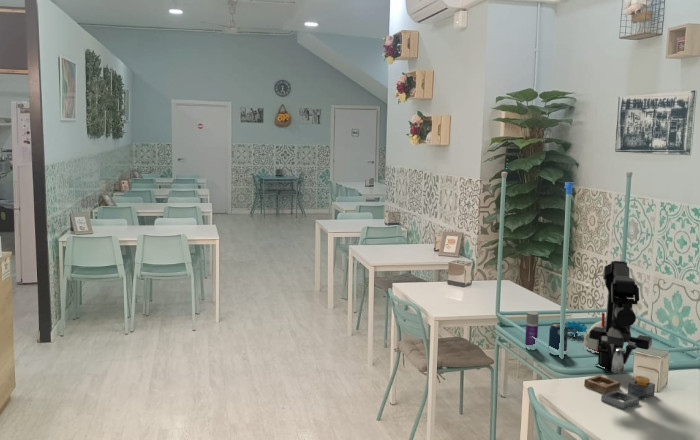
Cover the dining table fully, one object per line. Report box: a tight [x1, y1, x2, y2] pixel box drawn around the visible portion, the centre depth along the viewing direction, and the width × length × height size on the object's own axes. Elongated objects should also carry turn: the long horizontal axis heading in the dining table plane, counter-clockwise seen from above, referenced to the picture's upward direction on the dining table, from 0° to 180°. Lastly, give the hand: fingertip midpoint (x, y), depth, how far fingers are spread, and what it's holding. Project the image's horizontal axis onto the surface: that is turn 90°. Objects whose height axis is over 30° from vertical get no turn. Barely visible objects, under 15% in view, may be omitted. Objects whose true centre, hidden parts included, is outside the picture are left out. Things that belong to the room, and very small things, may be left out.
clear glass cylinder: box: [611, 348, 626, 374], centre depth 223 cm, size 4×4×8 cm
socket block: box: [600, 379, 656, 410], centre depth 224 cm, size 8×19×4 cm, turn 125°
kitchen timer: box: [583, 312, 606, 351], centre depth 273 cm, size 14×14×15 cm
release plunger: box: [634, 375, 651, 386], centre depth 228 cm, size 5×5×5 cm
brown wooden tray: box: [583, 374, 621, 395], centre depth 234 cm, size 8×8×2 cm
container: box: [524, 311, 539, 345], centre depth 272 cm, size 5×5×15 cm
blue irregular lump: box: [565, 320, 588, 335], centre depth 290 cm, size 11×6×10 cm
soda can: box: [548, 322, 569, 351], centre depth 267 cm, size 7×7×12 cm
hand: (618, 362), depth 223 cm, fingers closed on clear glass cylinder, 4 cm apart
